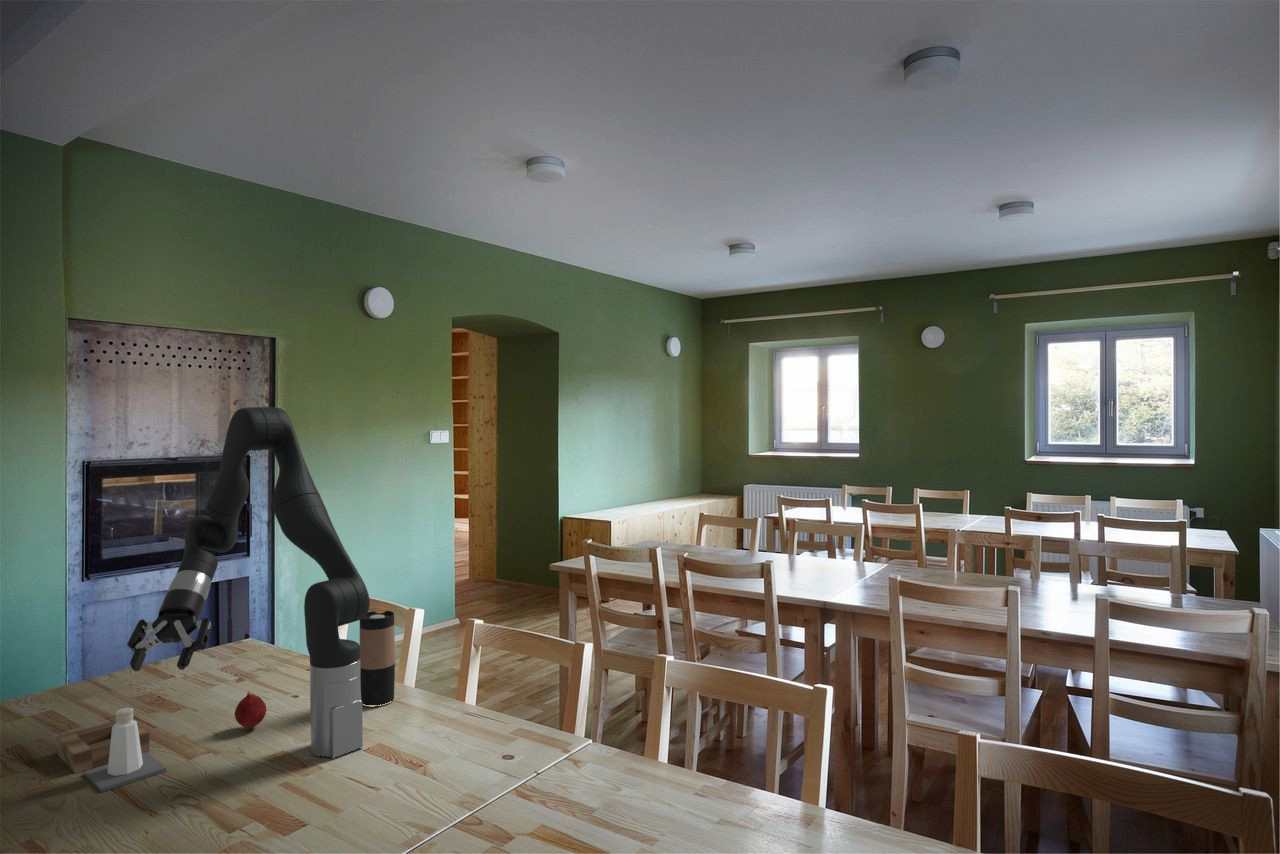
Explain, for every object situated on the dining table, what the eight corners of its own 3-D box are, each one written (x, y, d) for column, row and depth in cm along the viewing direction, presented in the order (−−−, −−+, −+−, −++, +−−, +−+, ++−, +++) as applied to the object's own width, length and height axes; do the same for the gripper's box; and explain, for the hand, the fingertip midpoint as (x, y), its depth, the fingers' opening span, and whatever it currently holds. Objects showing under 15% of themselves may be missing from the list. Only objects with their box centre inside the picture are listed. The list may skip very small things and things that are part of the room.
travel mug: (372, 710, 165) (371, 621, 165) (353, 702, 170) (352, 615, 170) (402, 700, 171) (401, 613, 171) (382, 692, 176) (381, 608, 176)
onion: (272, 724, 159) (271, 686, 158) (255, 735, 153) (255, 696, 153) (246, 722, 159) (245, 685, 159) (228, 734, 153) (228, 695, 153)
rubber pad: (166, 771, 138) (165, 767, 138) (101, 792, 130) (101, 789, 130) (147, 755, 144) (147, 752, 144) (84, 774, 136) (84, 771, 136)
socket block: (149, 750, 146) (149, 732, 146) (74, 773, 137) (74, 754, 137) (129, 733, 154) (128, 717, 154) (56, 754, 144) (56, 736, 144)
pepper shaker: (145, 769, 137) (144, 710, 137) (109, 779, 133) (108, 718, 133) (140, 759, 141) (139, 701, 141) (105, 768, 137) (104, 709, 137)
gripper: (143, 588, 156) (111, 661, 144) (215, 586, 157) (188, 658, 146) (158, 607, 161) (127, 678, 150) (227, 605, 162) (202, 676, 151)
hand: (157, 668), depth 148 cm, fingers open, 8 cm apart
